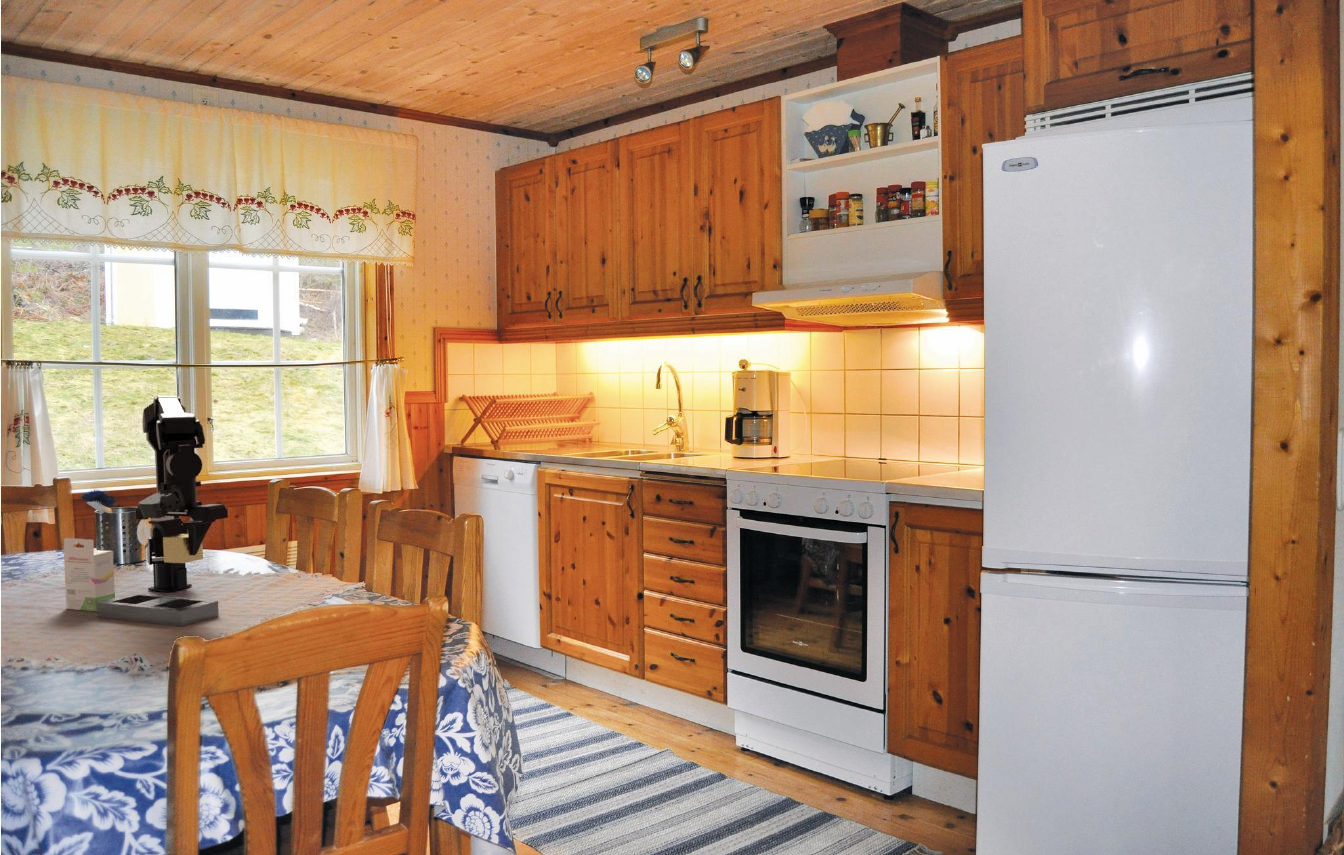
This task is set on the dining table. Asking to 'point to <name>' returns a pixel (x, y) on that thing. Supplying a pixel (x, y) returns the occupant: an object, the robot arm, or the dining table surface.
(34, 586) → the dining table surface
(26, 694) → the dining table surface
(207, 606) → the grey flat block
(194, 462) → the robot arm
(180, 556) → the natural wood cube
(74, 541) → the ink box
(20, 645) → the dining table surface
